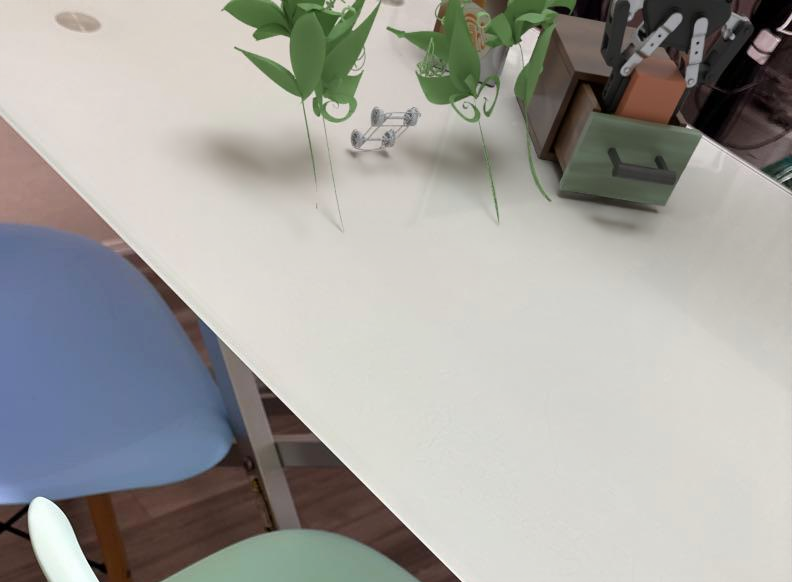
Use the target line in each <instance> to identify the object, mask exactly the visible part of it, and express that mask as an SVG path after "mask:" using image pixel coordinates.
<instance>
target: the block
mask: <svg viewBox="0 0 792 582" xmlns="http://www.w3.org/2000/svg"><path fill="white" fill-rule="evenodd" d="M629 76H630V77H631V79H630V81H629V84H628V86H627V88H626V90H625V92H624V95H623V97H622V99H621V101H620V103H619V106H618V108H617V110H616V112H615V113H611V115H615V116H621V117H627V118H632V119H638V120H644V121H650V122H655V123H661V124H668V122H669V120H670V118H671V116H672V114H673V112H674V110H675V108H676V106H677V104H678V102H679V100H680V98H681V96H682V94H683V92H684V90H685V88H686V86H687V82H686V81H685V79H684V78H683V76H682V74H681V73H680V71H679V69H678V66H677V64H676V63H675V61H674V60H671V61H670V60H665V59H659V58H654V57H648V58H645V59H643V61H642V62H641V63H640V64H639V65H638V66H637V67H636V69H635V70H634V71H633V72H632V73H631V74H630V75H629Z"/></svg>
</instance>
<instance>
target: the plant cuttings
mask: <svg viewBox="0 0 792 582" xmlns="http://www.w3.org/2000/svg"><path fill="white" fill-rule="evenodd" d="M280 1H281V2H280V6H279V5H278V4H277V3H275V2H274V1H273V0H229V1H228V2H227V3H226V4H225V5H224V6H223V7H222V9H220V12H224V11H225V12H227V13H228V14H230V15H231V16H232V17H233V18H235V19H236V20H238V21H239V22H241V23H242V24H244V25H247V26H249V27H252V28H255V29H256V30H255V31H254V32H253V33H252V37H253V39H255V42H259V41H262V40H265V39H270V38H274V37H278V36H284V37H287V38H288V39H289V59H290V65H291V69H292V72H293V73H292V72H291V71H290V70H289V69H288V68H287V67H284V66H283V65H282V64H280V63H278V62H276V61H274V60H273V59H271V58H267V57H265V56H262V55H259V54H256V53H254V52H250V51H247V50H245V49H241V48H240V47H238V46H234V47H233V48H234V50H237V51H238V52H241V53H242V54H243V55H244V56H245V58H247V59H248V60H249V61H250V62H251V64H253V65H254V66H255V67H256V68H257V69H258V70H260V71H261V72H262V73H263V74H264V75H265V76H266V77H267V78H269V79H270V80H271V81H272V82H273V83H275V84H276V85H278V87H280V88H281V89H283V90H284V91H286V92H287V93H289V94H292V95H293V96H295V97H298V98H300V99H301V101H300V103H299V105H300V104H302V109H303V110H302V111H303V115H304V116H303V117H304V121H305V127H306V132H307V133H306V134H307V139H308V145H309V150H310V156H311V162H312V168H313V174H314V182H317V176H316V167H315V159H314V154H313V147H312V143H311V136H310V131H309V126H308V120H307V115H306V109H305V103H304V102H305V101H306V100H307V99H308V98H309V97H310V96H311V95H312V94H313V93H314V94H315V97H313V98H311V100H312V110H313V113H314V114H315V116H316V117H318V118H320V117H322V120H323V127H324V133H325V140H326V145H327V149H328V150H327V151H328V158H329V162H330V171H331V175H332V181H333V187H334V193H335V198H336V202H337V203H336V204H337V209H338V213H339V214H341V212H340V211H341V210H340V206H339V201H338V196H337V191H336V185H335V179H334V174H333V167H332V162H331V156H330V155H331V154H330V148H329V142H328V136H327V130H326V122H325V120H326V121H328V122H330V123H343V122H345V121H347V120H348V119H350V118H351V117H352V116H353V114H354V113H355V111H356V110H357V107H358V101H357V99H356V97H355V95H356V92H357V90H358V87H359V83H360V81H361V78H362V76H363V74H364V72H365V70H364V69H362V68H363V67H364V65H365V63H366V47H365V44H366V41H367V39H368V37H369V34H370V32H371V30H372V27H373V25H374V23H375V20H376V18H377V15H378V12H379V9H380V7H381V4H382V0H380V1H379V2H378V4H377V5H376V6H375V7H374V9H373V10H372V12H370V14H368V16H367V17H365V19H364V20H363V21H362V22H361V23H360V24H359V25H358V26H357V27H356V28H354V26H355V25H356V23H357V21H358V19H359V17H360V15H361V13H362V9H363V8H364V4H365V2H366V0H355V1H354V2H353V4H352V5H347V6H345V7H343V8H342V11H341V12H339V11H335V10H333V9H334V8H335V3H336V1H337V0H280ZM340 1H341V3H343V4H346V1H345V0H340ZM441 1H442V2H441ZM445 1H446V0H440V2H439V4H437V6H436V8H435V10H434V17H435V19H438V20H439V21H441V23H442V25H444V29H445V35H444V34H441V33H438V32H433V30H418V31H409V32H406V31H405V30H400V29H396V28H393V27H391V26H386V28H385V29H386V30H387V31H389V32H391V33H393V34H394V35H395V36H396V37H397V38H398V39H406V40H407V41H408V42H410V43H411V44H412V45H414V46H416V47H418V48H419V49H421V50H422V51H424V52H425V53H424V56H423V59H422V61H419V62H417V63H416V67H417V68H418V69H419V72H418V71H417V70H414V72H415V76H416V78H417V80H418V82H419V85H420V89H421V90H422V92H423V94H424V97H425V98H426V99H427V100H428V102H429V103H430V104H434V105H439V106H443V105H445V106H446V105H450V106H451V107H452V108H453V110H454V111H455V112H456V113H457V115H458V116H459V117H461V118H462V119H463V120H464V121H466V122H468V123H473V124H474V123H477V122H478V125H479V129H480V134H481V135H480V136H481V140H482V145H483V150H484V155H485V160H486V165H487V171H488V176H489V181H490V187H491V192H492V197H493V201H494V208H495V212H496V217H497V222H498V224H500V214H499V206H498V200H497V194H496V189H495V184H494V179H493V175H492V169H491V165H490V161H489V156H488V152H487V147H486V144H485V139H484V134H483V130H482V127H481V123H480V119H481V112H480V110H479V108H478V107H477V106H476V103H474V104H473V103H471V102H469V101H463V103H462V109H464V110H467V109H468V108H469V105H470V106H471V107H472V109H473V112H474V116H473V117H472V118H468V117H466V116H465V115H464V114H463V113H462V112H461V111H460V110H459V109H458V108H457V107H456V104H455V103H457V102H460V101H462V100H465V99H467V98H469V97H473V98H474V99H473V102H476V100H478V98H479V97H480V94H481V93H482V91H483V89H484V88H485V86H486V85H487V84H486V83H487V82H488V81H489V80H491V79H493V80H495V82H496V84H495V86H496V92H495V97H494V100H493V102H492V105H491V106H490V108H489V109H488V110H486V104H487V102H489V99H487V96H486V97H485V96H484V97H483V99H484V102H483V106H482V111H483V114H484V116H485V117H486V118H489V117H490V116H491V115H492V113H493V111H494V108H495V106H496V103H497V100H498V96H499V92H500V88H501V80H500V79H501V78H500V77H498V76H497V75H490V76H489V77H487V78H486V79H485V81H484V82H483V83H482V82H481V85H480V87H479V88H478V85H479V82H480V81H479V78H480V72H481V66H480V59H479V55H478V53H477V50H476V49H475V47H474V45H473V43H472V39H471V35H470V31H469V28H468V25H467V22H466V20H465V17H464V14H463V13H464V12H463V9H464V6H465V4H466V3H468V4H470V3H471V2H472V0H470V1H469V0H463V5H462V6H461V5H460V1H459V0H449V3H448V6H447V10H446V14H445V16H444V17H443V18H442V19H440V18H438V17H437V15H438V14H437V10H439V8H440V5H441V4H442V3H443V2H445ZM468 1H469V2H468ZM325 4H326V7H324V6H325ZM576 5H577V0H509V1H508V3H507V9H506V10H505V12H504V14H503V13H501V14H499V15H498V16H496V17H495V18H494V19H493V20H492V21H491V23H490V24H489V22H490V15H489V14H488V13H486V12H485V11H484V12H480V13H478V14H477V17H478V18H477V26H478V27H479V28H481V29H483V28H486V29H485V32H484V33H487V34H492V35H491V36H490V37H489V38H488V39H487V41H486V42H485V45H487V46H489V47H492V48H495V47H497V46H500V45H506V46H507V47H510V48H513V46H517V45H518V46H519V48H520V52H521V60H522V69H521V71H520V72H519V74H518V76H517V78H516V80H515V83H514V87H513V93H514V95H515V96H517V97H519V98H520V99H522V100H525V108H526V122H525V126H526V142H527V144H526V145H527V154H528V155H527V156H528V161H529V166H530V171H531V175H532V178H533V181H534V183H535V186H536V187H537V188H538V190H539V192H540V193H541V195H542V196H543V197H544V199H546V200H547V202H549V203H552V201H553V200H552V199H551V198H550V196H548V194H547V193H546V192H545V190H544V188H543V186H542V184H541V183H540V181H539V178H538V176H537V173H536V170H535V166H534V163H533V157H532V151H531V144H530V133H529V130H528V120H527V106H528V104H529V102H530V99H531V97H532V95H533V92H534V90H535V87H536V84H537V81H538V78H539V75H540V74H541V73H542V71H543V62H544V59H545V56H546V53H547V49H548V46H549V42H550V38H551V35H552V31H553V29H554V28H555V26H556V25H557V23H558V21H556V22H555V23H553V24H552V25H551V26H549V27H548V25H549V23H550V24H551V23H552V21H553V20H554V19H555V18H556V17H557V16H558V14H559V12H557V11H555V10H552V9H549V8H552V7H565V8H567V9H569V10H570V12H569V14H568V15H569V16H571V14H572V13H573V11H574V9H575V7H576ZM484 15H487V16H486V18H488V22H487V24H486V25H485V26H483V27H482V26H480V25H479V23H478V21H479V18H480V17H482V16H484ZM444 18H445V20H443V19H444ZM443 22H444V23H443ZM540 25H541V28H542V27H543V28H544V29H545V31H544V32H543V33H542V35H541V36H540V38H539V40H538V42H537V41H536V42H537V44H536V43H535V44H536V47H535V46H534V47H535V50H534V49H533V50H534V53H533V56H532V60H531V61H528V62H527V63H526V64H525V63H524V55H523V49H522V45H521V43H522V42H523V39H522V38H521V37H522V36H524V35H525V34H526V33H527V32H528V31H529V30H531V29H533V28H536V27H538V26H540ZM353 28H354V30H353ZM362 51H363V53H362ZM361 53H362V55H361ZM429 53H430V55H429V59H428V54H429ZM431 54H432V56H431ZM360 55H361V56H360ZM426 55H427V56H426ZM430 56H431V58H430ZM433 56H434V57H435V58H436V59H437V60H436V61H437V63H438V65H437V63H436V62H435V60H434V59H433ZM359 57H360V58H359ZM425 57H426V61H425ZM437 57H438V58H440V59H442V60H443V61H442V62H440V59H438V58H437ZM362 58H363V62H362V65H361V66H360V67H358V65H357V64H356V62H358V61H360V60H361V59H362ZM431 59H433V61H434V63H435V64H436V66H437V67H436V70H434V66H433V64H430V65H429V64H428V63H427V60H428V61H429V62H430V61H431ZM424 61H425V62H424ZM444 62H445V64H444ZM441 63H442V65H441ZM443 64H444V66H443ZM447 65H449V71H448V72H449V73H448V75H444V74H445V73H446V71H447V70H446V68H447ZM440 66H441V68H439V67H440ZM354 67H355V68H356V69H354ZM444 68H445V69H444ZM361 69H362V70H361ZM360 70H361V72H360V73H358V74H356V75H349V73H350V72H351V71H353V72H357V71H358V72H359V71H360ZM423 74H424V76H423ZM477 88H478V91H477ZM517 97H516V98H517ZM323 99H328V100H327V101H325V102H324V103H323ZM330 102H333V103H336V104H337V106H338V107H337V108H339V107H340V105H347V104H348V106H349V107H348V108H349V109H348V112H347V114H346V115H345V116H344V117H341V118H338V117H337V118H336V117H334V116H332V115H330V114H329V113H328V111H327V105H328V104H329V103H330ZM465 103H468V104H467V106H465ZM332 106H333V107H335V105H334V104H332ZM393 114H403V115H393ZM421 116H422V113H421V112H420V111H419V109H418V108H417V106H413V107H411V108H408V109H406V111H390V112H384V110H383V109H382V108H380V107H379V106H374V107H373V108H372V110H371V113H370V124H371V126H370V127H369V128H368V129H367V130H366V132H365V133H364V134H363V132H362V131H361V130H358V129H357V128H354V129H353V130H352V131H351V133H350V144H351V146H352V148H354V149H355V150H358V151H365V152H366V151H367V152H369V151H378V150H383V149H386V148H393V147H394V146H395V144H396V140H397V139H398V138H400V137H401V135H402V134H404V133H405V131H407V129H408V128H410V127H415V126H416V125H417V123H418V120H419V118H420V117H421ZM387 120H402V121H403V124H384V123H385V122H387ZM373 127H375V129H374V131H372V133H370V135H369V136H368V137H366V135H367V134H368V133H369V132H370V131H371V130H372V129H373ZM381 127H399V128H398V129H397V130H396V131H395V130H394V129H393V128H391V129H389V130H386V131H385V132H384V134H383V135H382V136H381V137H372V136H373V135H374V134H375V133H376V132H377V131H378V130H379V129H380V128H381ZM403 127H405V128H404V129H403V130H402V132H400V133H399V134H398V135H397V136H396V134H397V133H398V132H399V131H400V130H401V129H402V128H403ZM366 142H381V145H380V147H377V148H370V149H369V148H368V149H366V148H365V149H364V148H361V147H362V146H363V145H364V144H365V143H366ZM315 187H316V190H315V191H318V186H317V184H315ZM315 206H316V207H315V208H316V210H317V209H318V204H316V205H315ZM339 218H340V222H341V223H343V220H342V216H341V215H339ZM341 226H342V230H343V231H345V229H344V225H343V224H341Z"/></svg>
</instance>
